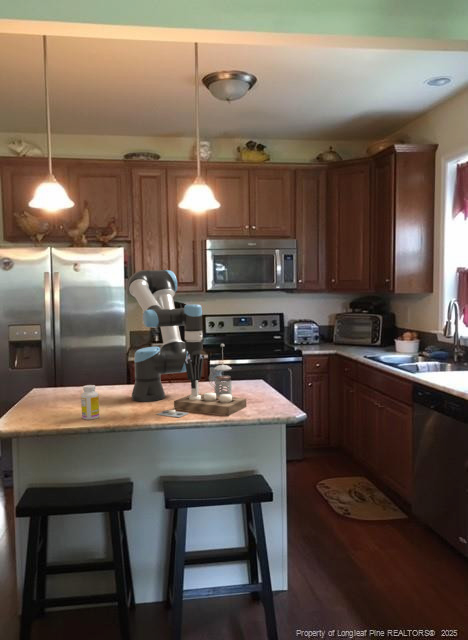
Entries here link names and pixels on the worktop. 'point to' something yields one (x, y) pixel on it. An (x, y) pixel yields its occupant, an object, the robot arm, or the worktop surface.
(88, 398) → the supplement bottle
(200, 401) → the board
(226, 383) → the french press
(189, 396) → the button
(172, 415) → the card
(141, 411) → the worktop surface
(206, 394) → the button
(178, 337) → the robot arm
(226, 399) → the button
